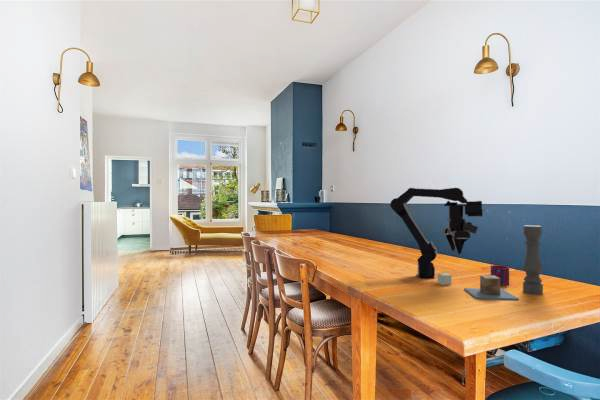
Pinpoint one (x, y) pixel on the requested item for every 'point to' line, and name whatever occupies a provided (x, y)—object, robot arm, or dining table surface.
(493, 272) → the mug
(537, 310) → the dining table surface
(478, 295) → the placemat
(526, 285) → the candle holder
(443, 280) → the sage block
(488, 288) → the walnut block
